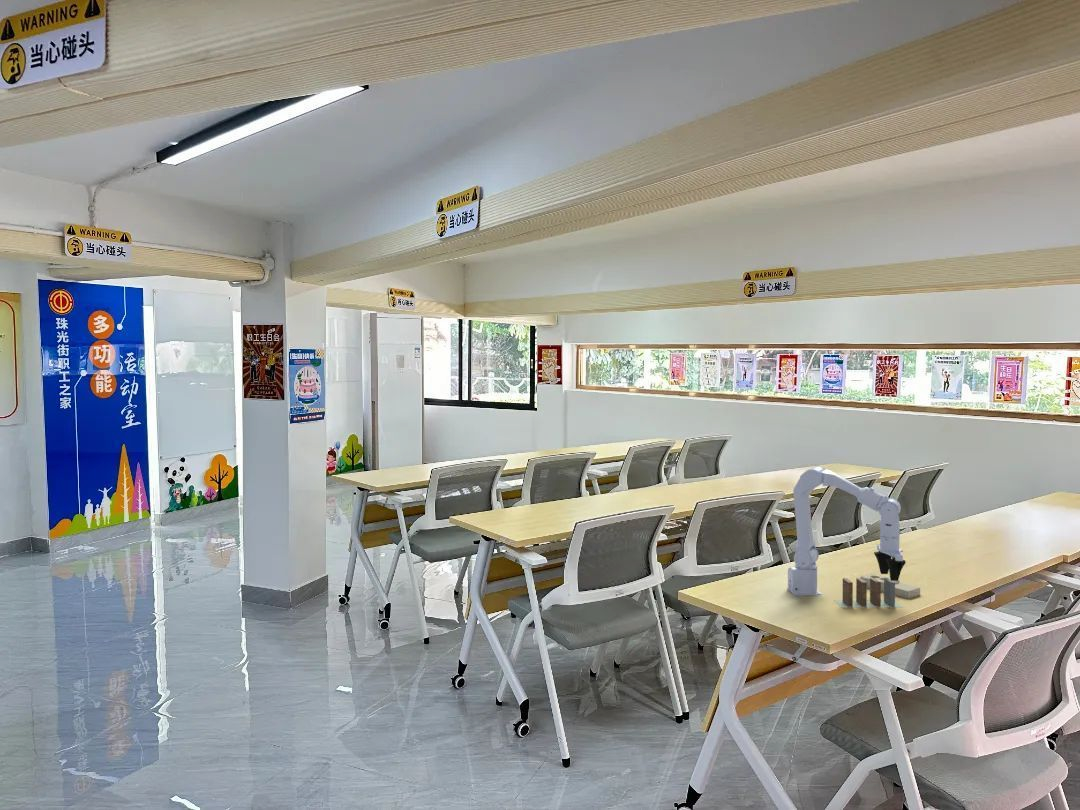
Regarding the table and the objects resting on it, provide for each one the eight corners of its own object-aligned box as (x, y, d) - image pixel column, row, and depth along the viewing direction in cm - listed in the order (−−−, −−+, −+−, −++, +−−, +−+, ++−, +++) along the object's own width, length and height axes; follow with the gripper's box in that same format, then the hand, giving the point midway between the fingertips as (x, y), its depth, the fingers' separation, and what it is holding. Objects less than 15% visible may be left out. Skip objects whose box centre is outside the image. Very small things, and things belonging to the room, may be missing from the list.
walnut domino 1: (848, 606, 239) (848, 582, 238) (842, 601, 244) (842, 578, 243) (852, 606, 239) (852, 582, 238) (846, 601, 244) (846, 578, 243)
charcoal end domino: (890, 606, 238) (890, 582, 238) (883, 601, 243) (884, 577, 243) (894, 606, 238) (895, 582, 238) (888, 601, 243) (888, 577, 243)
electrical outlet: (908, 588, 246) (859, 576, 261) (908, 600, 246) (859, 587, 261) (920, 584, 250) (871, 572, 265) (920, 596, 250) (871, 584, 265)
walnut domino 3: (876, 606, 238) (876, 582, 238) (869, 601, 243) (870, 578, 243) (880, 606, 238) (880, 582, 238) (874, 601, 243) (874, 578, 243)
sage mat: (841, 608, 238) (841, 607, 238) (833, 601, 245) (833, 600, 245) (904, 607, 238) (904, 607, 238) (894, 601, 245) (894, 600, 245)
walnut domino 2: (862, 606, 239) (862, 582, 238) (856, 601, 244) (856, 578, 243) (866, 606, 239) (866, 582, 238) (860, 601, 244) (860, 578, 243)
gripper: (912, 541, 232) (911, 583, 233) (892, 531, 247) (891, 570, 247) (890, 541, 232) (889, 583, 233) (871, 531, 247) (870, 570, 248)
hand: (889, 577), depth 240 cm, fingers open, 7 cm apart
